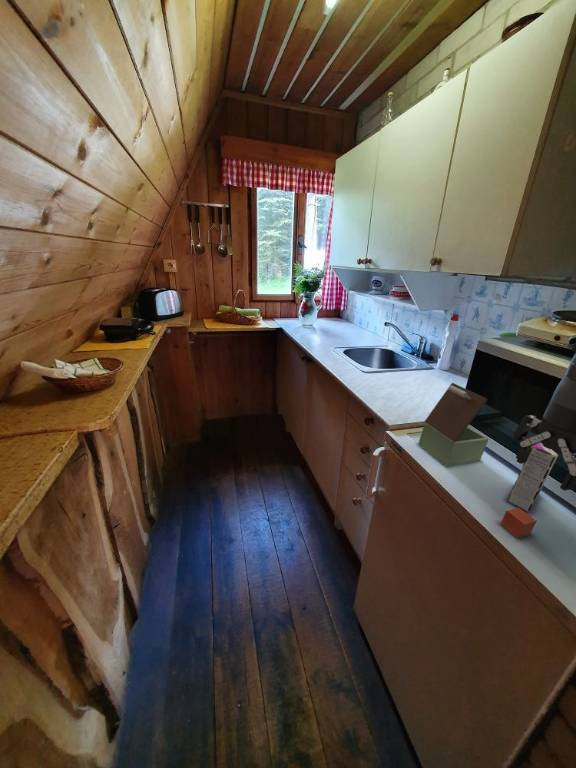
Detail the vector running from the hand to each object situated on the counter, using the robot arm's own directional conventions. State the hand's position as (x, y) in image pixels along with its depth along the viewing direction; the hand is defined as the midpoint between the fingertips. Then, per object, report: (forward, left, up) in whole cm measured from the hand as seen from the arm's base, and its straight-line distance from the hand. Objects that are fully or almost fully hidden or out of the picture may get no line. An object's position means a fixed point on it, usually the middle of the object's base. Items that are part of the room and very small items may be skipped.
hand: (541, 474), depth 63 cm
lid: (-6, -28, 0) cm, 29 cm away
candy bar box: (-13, -7, -15) cm, 21 cm away
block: (0, 0, -15) cm, 15 cm away
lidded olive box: (-10, -28, -15) cm, 33 cm away
